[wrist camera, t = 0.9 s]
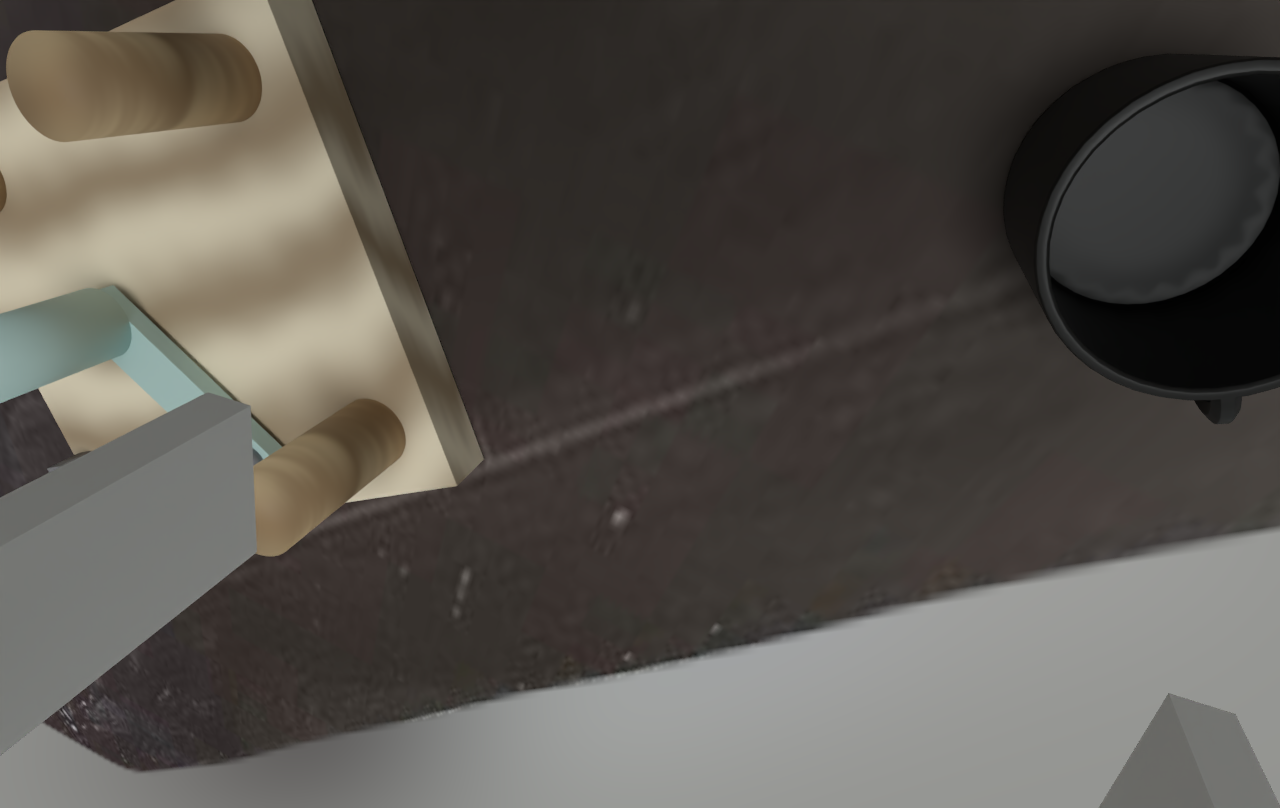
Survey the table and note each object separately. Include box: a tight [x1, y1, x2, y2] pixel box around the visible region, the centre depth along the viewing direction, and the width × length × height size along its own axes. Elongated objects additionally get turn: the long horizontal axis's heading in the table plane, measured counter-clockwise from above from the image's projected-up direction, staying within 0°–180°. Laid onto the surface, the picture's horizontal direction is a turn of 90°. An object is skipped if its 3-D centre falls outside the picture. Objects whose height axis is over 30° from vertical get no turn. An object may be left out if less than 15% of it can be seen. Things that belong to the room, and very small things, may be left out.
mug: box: [1004, 54, 1280, 424], centre depth 27 cm, size 9×12×9 cm
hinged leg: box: [0, 285, 282, 466], centre depth 40 cm, size 13×4×8 cm, turn 47°
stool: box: [0, 0, 484, 556], centre depth 40 cm, size 25×24×12 cm
